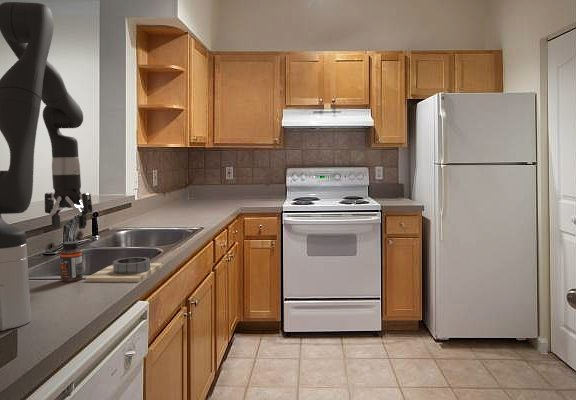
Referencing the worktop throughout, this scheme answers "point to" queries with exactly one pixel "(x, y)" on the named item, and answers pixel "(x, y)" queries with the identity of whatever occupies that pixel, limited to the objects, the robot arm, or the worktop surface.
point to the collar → (131, 265)
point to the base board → (121, 275)
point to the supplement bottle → (71, 262)
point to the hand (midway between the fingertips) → (69, 228)
